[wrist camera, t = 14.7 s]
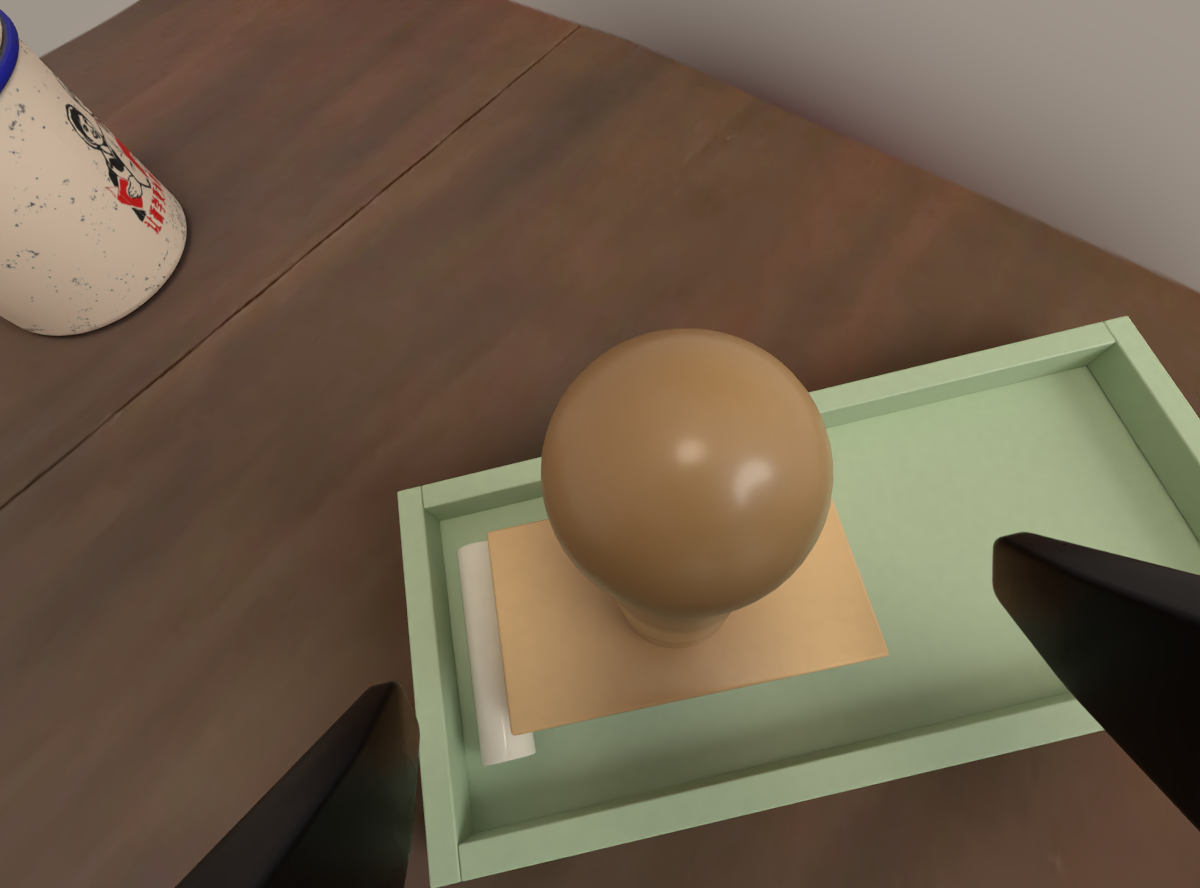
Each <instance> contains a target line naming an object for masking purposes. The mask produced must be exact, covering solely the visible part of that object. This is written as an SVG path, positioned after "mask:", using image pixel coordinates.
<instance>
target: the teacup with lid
mask: <svg viewBox="0 0 1200 888" xmlns="http://www.w3.org/2000/svg"><path fill="white" fill-rule="evenodd" d="M186 234H187V226H186V219H185V215H184V212H183V210H182V208H181V206H180V204H179V203H178V201H177V200H176V198H175V197H174V196H173V195H172V194H171V193H170V192H169V191H168V190H167V189H166V188H165V187H164V186H163V185H162V184H161V183H160V182H159V181H158V180H157V179H156V178H155V177H154V176H153V175H152V174H151V173H150V172H149V171H148V170H147V169H146V167H145V166H144V165H143V164H142V163H141V162H140V161H139V160H138V159H137V158H136V157H135V156H134V155H133V154H132V153H131V152H130V151H129V150H128V149H127V148H126V147H125V146H124V145H123V144H122V143H121V142H120V141H119V140H118V139H117V138H116V137H115V136H114V135H113V134H112V133H111V132H110V131H109V130H108V129H107V128H106V127H105V126H104V125H103V124H102V123H101V121H100V120H99V119H98V118H97V117H96V116H95V115H94V114H93V113H92V112H91V111H90V110H89V109H88V108H87V107H86V106H85V105H84V104H83V103H82V102H81V101H80V100H79V99H78V98H77V97H76V96H75V95H74V94H73V93H72V92H71V91H70V90H69V89H68V88H67V87H66V86H65V85H64V84H63V83H62V82H61V81H60V80H59V79H58V78H57V76H56V75H55V74H54V73H53V72H52V71H51V70H50V69H49V68H48V67H47V66H46V65H45V64H44V63H43V62H42V61H41V60H40V59H39V58H38V57H37V56H36V55H35V54H34V53H33V52H32V51H31V50H30V49H29V48H28V47H27V46H26V45H25V44H24V43H23V42H22V41H21V40H20V39H19V38H18V33H17V30H16V28H15V26H14V24H13V22H12V21H11V19H10V18H9V17H8V16H7V15H6V14H5V13H4V12H3V11H2V10H0V316H1V317H3V318H5V319H7V320H8V321H10V322H12V323H13V324H15V325H17V326H19V327H21V328H23V329H25V330H28V331H30V332H33V333H38V334H43V335H50V336H64V335H74V334H81V333H85V332H89V331H92V330H96V329H99V328H101V327H104V326H106V325H109V324H111V323H113V322H115V321H117V320H119V319H121V318H123V317H124V316H126V315H128V314H129V313H131V312H133V311H134V310H136V309H137V308H138V307H140V306H141V305H142V304H144V303H145V302H146V301H147V300H148V299H150V298H151V297H152V296H153V295H154V294H155V293H156V292H157V291H158V290H159V289H160V288H161V287H162V285H163V284H164V283H165V282H166V281H167V279H168V278H169V277H170V275H171V274H172V272H173V271H174V269H175V267H176V266H177V264H178V262H179V260H180V258H181V255H182V253H183V250H184V247H185V242H186Z"/></svg>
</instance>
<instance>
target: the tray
mask: <svg viewBox="0 0 1200 888" xmlns="http://www.w3.org/2000/svg"><path fill="white" fill-rule="evenodd" d="M808 393H809V394H810V396H811V397H812V399H813V401H814V402H815V404H816V406H817V408H818V410H819V412H820V414H821V416H822V418H823V421H824V424H825V427H826V430H827V434H828V437H829V441H830V444H831V451H832V457H833V475H834V481H833V489H832V496H831V497H832V499H833V502H834V505H835V508H836V510H837V513H838V516H839V518H840V521H841V524H842V527H843V529H844V532H845V535H846V537H847V540H848V543H849V545H850V548H851V551H852V554H853V556H854V559H855V562H856V564H857V567H858V570H859V573H860V575H861V578H862V581H863V583H864V586H865V589H866V591H867V594H868V597H869V600H870V602H871V605H872V608H873V610H874V613H875V616H876V619H877V621H878V624H879V627H880V629H881V632H882V635H883V637H884V640H885V643H886V646H887V648H888V651H889V655H888V656H887V657H883V658H878V659H874V660H869V661H864V662H860V663H855V664H850V665H845V666H841V667H836V668H831V669H827V670H822V671H817V672H813V673H808V674H803V675H798V676H794V677H789V678H784V679H780V680H775V681H770V682H765V683H761V684H756V685H751V686H747V687H742V688H737V689H732V690H728V691H723V692H718V693H714V694H709V695H704V696H700V697H695V698H690V699H685V700H681V701H676V702H671V703H667V704H662V705H657V706H652V707H648V708H643V709H638V710H634V711H629V712H624V713H619V714H615V715H610V716H605V717H601V718H596V719H591V720H587V721H582V722H577V723H572V724H568V725H563V726H558V727H554V728H549V729H544V730H539V731H535V732H534V738H535V744H536V753H535V754H533V755H530V756H526V757H523V758H519V759H515V760H511V761H507V762H503V763H498V764H494V765H489V766H482V765H481V757H480V748H479V740H478V731H477V723H476V715H475V706H474V698H473V689H472V681H471V673H470V664H469V656H468V647H467V639H466V630H465V622H464V614H463V605H462V597H461V588H460V580H459V571H458V563H457V555H456V552H457V550H458V549H459V548H461V547H463V546H465V545H468V544H471V543H475V542H480V541H488V539H487V534H488V532H490V531H495V530H499V529H504V528H509V527H513V526H518V525H522V524H527V523H532V522H536V521H541V520H545V519H549V518H548V516H547V513H546V509H545V505H544V500H543V496H542V486H541V458H542V457H539V458H535V459H531V460H526V461H522V462H518V463H514V464H510V465H506V466H502V467H497V468H493V469H489V470H485V471H481V472H477V473H473V474H468V475H464V476H460V477H456V478H452V479H448V480H444V481H439V482H435V483H431V484H427V485H423V486H422V487H421V486H419V487H415V488H411V489H406V490H402V491H398V492H397V496H398V508H399V520H400V532H401V544H402V556H403V568H404V580H405V591H406V603H407V615H408V627H409V639H410V651H411V663H412V675H413V687H414V699H415V711H416V718H417V720H418V724H419V729H420V745H419V759H420V771H421V783H422V795H423V807H424V819H425V831H426V843H427V855H428V867H429V879H430V887H431V888H437V887H441V886H446V885H450V884H454V883H458V882H460V881H461V880H462V881H467V880H471V879H476V878H480V877H484V876H488V875H493V874H497V873H501V872H505V871H510V870H514V869H518V868H522V867H527V866H531V865H535V864H539V863H543V862H548V861H552V860H556V859H560V858H565V857H569V856H573V855H577V854H582V853H586V852H590V851H594V850H599V849H603V848H607V847H611V846H615V845H620V844H624V843H628V842H632V841H637V840H641V839H645V838H649V837H654V836H658V835H662V834H666V833H671V832H675V831H679V830H683V829H688V828H692V827H696V826H700V825H704V824H709V823H713V822H717V821H721V820H726V819H730V818H734V817H738V816H743V815H747V814H751V813H755V812H760V811H764V810H768V809H772V808H776V807H781V806H785V805H789V804H793V803H798V802H802V801H806V800H810V799H815V798H819V797H823V796H827V795H832V794H836V793H840V792H844V791H849V790H853V789H857V788H861V787H865V786H870V785H874V784H878V783H882V782H887V781H891V780H895V779H899V778H904V777H908V776H912V775H916V774H921V773H925V772H929V771H933V770H937V769H942V768H946V767H950V766H954V765H959V764H963V763H967V762H971V761H976V760H980V759H984V758H988V757H993V756H997V755H1001V754H1005V753H1010V752H1014V751H1018V750H1022V749H1026V748H1031V747H1035V746H1039V745H1043V744H1048V743H1052V742H1056V741H1060V740H1065V739H1069V738H1073V737H1077V736H1082V735H1086V734H1090V733H1094V732H1098V731H1103V730H1104V729H1103V728H1102V726H1101V725H1100V724H1099V723H1098V722H1097V721H1096V720H1095V719H1094V718H1093V717H1092V716H1091V715H1090V714H1089V713H1088V711H1087V710H1086V709H1085V708H1084V707H1083V706H1082V705H1081V704H1080V703H1079V702H1078V701H1077V699H1076V698H1075V697H1074V696H1073V695H1072V694H1071V693H1070V692H1069V690H1068V689H1067V688H1066V687H1065V686H1064V684H1063V683H1062V682H1061V681H1060V680H1059V678H1058V677H1057V676H1056V675H1055V673H1054V672H1053V671H1052V670H1051V668H1050V667H1049V666H1048V664H1047V663H1046V662H1045V660H1044V659H1043V658H1042V657H1041V655H1040V654H1039V653H1038V651H1037V650H1036V649H1035V648H1034V646H1033V645H1032V644H1031V642H1030V641H1029V640H1028V638H1027V637H1026V636H1025V635H1024V633H1023V632H1022V631H1021V629H1020V628H1019V627H1018V626H1017V624H1016V623H1015V622H1014V620H1013V619H1012V618H1011V616H1010V615H1009V614H1008V613H1007V611H1006V610H1005V609H1004V607H1003V606H1002V605H1001V603H1000V602H999V601H998V599H997V597H996V595H995V593H994V590H993V586H992V556H993V544H994V541H995V540H996V539H997V538H999V537H1001V536H1006V535H1010V534H1014V533H1018V532H1030V533H1034V534H1038V535H1042V536H1046V537H1050V538H1054V539H1058V540H1062V541H1066V542H1070V543H1074V544H1078V545H1082V546H1086V547H1090V548H1094V549H1098V550H1102V551H1106V552H1110V553H1114V554H1118V555H1122V556H1126V557H1130V558H1134V559H1138V560H1142V561H1146V562H1150V563H1154V564H1158V565H1162V566H1165V567H1169V568H1173V569H1177V570H1181V571H1185V572H1189V573H1193V574H1197V575H1200V419H1199V418H1198V416H1197V415H1196V413H1195V412H1194V410H1193V409H1192V408H1191V406H1190V405H1189V403H1188V402H1187V400H1186V399H1185V397H1184V396H1183V395H1182V393H1181V392H1180V390H1179V389H1178V387H1177V386H1176V385H1175V383H1174V382H1173V380H1172V379H1171V377H1170V376H1169V375H1168V373H1167V372H1166V370H1165V369H1164V367H1163V366H1162V365H1161V363H1160V362H1159V360H1158V359H1157V357H1156V356H1155V354H1154V353H1153V352H1152V350H1151V349H1150V347H1149V346H1148V344H1147V343H1146V342H1145V340H1144V339H1143V337H1142V336H1141V334H1140V333H1139V332H1138V330H1137V329H1136V327H1135V326H1134V324H1133V323H1132V322H1131V320H1130V319H1129V317H1128V316H1124V317H1119V318H1115V319H1111V320H1107V321H1103V322H1099V323H1095V324H1090V325H1086V326H1082V327H1078V328H1074V329H1070V330H1066V331H1061V332H1057V333H1053V334H1049V335H1045V336H1041V337H1036V338H1032V339H1028V340H1024V341H1020V342H1016V343H1012V344H1007V345H1003V346H999V347H995V348H991V349H987V350H983V351H978V352H974V353H970V354H966V355H962V356H958V357H954V358H949V359H945V360H941V361H937V362H933V363H929V364H925V365H920V366H916V367H912V368H908V369H904V370H900V371H895V372H891V373H887V374H883V375H879V376H875V377H871V378H866V379H862V380H858V381H854V382H850V383H846V384H842V385H837V386H833V387H829V388H825V389H821V390H817V391H813V392H808Z"/></svg>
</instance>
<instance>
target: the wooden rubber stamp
mask: <svg viewBox="0 0 1200 888" xmlns="http://www.w3.org/2000/svg"><path fill="white" fill-rule="evenodd" d="M833 481H834V475H833V457H832V451H831V444H830V441H829V437H828V434H827V430H826V427H825V424H824V421H823V418H822V416H821V414H820V412H819V410H818V408H817V406H816V404H815V402H814V401H813V399H812V397H811V396H810V394H809V393H808V391H807V390H806V389H805V387H804V386H803V385H802V384H801V383H800V381H799V380H798V379H797V378H796V377H795V375H794V374H793V373H792V372H791V371H790V370H789V369H788V368H787V367H786V366H785V365H784V364H782V363H781V362H780V361H779V360H778V359H776V358H775V357H774V356H772V355H771V354H769V353H768V352H767V351H765V350H763V349H761V348H760V347H758V346H756V345H754V344H752V343H750V342H748V341H746V340H743V339H741V338H738V337H736V336H732V335H729V334H725V333H722V332H718V331H712V330H706V329H694V328H678V329H666V330H660V331H654V332H650V333H647V334H643V335H640V336H637V337H634V338H632V339H629V340H627V341H624V342H622V343H620V344H618V345H617V346H615V347H613V348H611V349H609V350H608V351H606V352H605V353H603V354H602V355H601V356H599V357H598V358H596V359H595V360H594V361H593V362H592V363H591V364H590V365H589V366H587V367H586V368H585V369H584V370H583V371H582V372H581V373H580V374H579V375H578V376H577V378H576V379H575V380H574V381H573V382H572V383H571V385H570V386H569V387H568V389H567V390H566V392H565V393H564V395H563V396H562V398H561V399H560V401H559V403H558V405H557V407H556V409H555V411H554V413H553V415H552V418H551V420H550V423H549V426H548V429H547V432H546V435H545V439H544V444H543V450H542V458H541V486H542V496H543V500H544V505H545V509H546V513H547V516H548V518H549V519H545V520H541V521H536V522H532V523H527V524H522V525H518V526H513V527H509V528H504V529H499V530H495V531H490V532H488V534H487V539H488V547H489V555H490V563H491V572H492V580H493V588H494V597H495V605H496V613H497V621H498V630H499V638H500V646H501V655H502V663H503V671H504V679H505V688H506V696H507V704H508V713H509V721H510V729H511V733H512V735H514V736H516V735H521V734H525V733H530V732H535V731H539V730H544V729H549V728H554V727H558V726H563V725H568V724H572V723H577V722H582V721H587V720H591V719H596V718H601V717H605V716H610V715H615V714H619V713H624V712H629V711H634V710H638V709H643V708H648V707H652V706H657V705H662V704H667V703H671V702H676V701H681V700H685V699H690V698H695V697H700V696H704V695H709V694H714V693H718V692H723V691H728V690H732V689H737V688H742V687H747V686H751V685H756V684H761V683H765V682H770V681H775V680H780V679H784V678H789V677H794V676H798V675H803V674H808V673H813V672H817V671H822V670H827V669H831V668H836V667H841V666H845V665H850V664H855V663H860V662H864V661H869V660H874V659H878V658H883V657H887V656H888V655H889V651H888V648H887V646H886V643H885V640H884V637H883V635H882V632H881V629H880V627H879V624H878V621H877V619H876V616H875V613H874V610H873V608H872V605H871V602H870V600H869V597H868V594H867V591H866V589H865V586H864V583H863V581H862V578H861V575H860V573H859V570H858V567H857V564H856V562H855V559H854V556H853V554H852V551H851V548H850V545H849V543H848V540H847V537H846V535H845V532H844V529H843V527H842V524H841V521H840V518H839V516H838V513H837V510H836V508H835V505H834V502H833V499H832V497H831V496H832V489H833Z"/></svg>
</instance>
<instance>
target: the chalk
mask: <svg viewBox="0 0 1200 888" xmlns="http://www.w3.org/2000/svg"><path fill="white" fill-rule="evenodd" d="M456 555H457V563H458V571H459V580H460V588H461V597H462V605H463V614H464V622H465V630H466V639H467V647H468V656H469V664H470V673H471V681H472V689H473V698H474V706H475V715H476V723H477V731H478V740H479V748H480V757H481V765H482V766H489V765H494V764H498V763H503V762H507V761H511V760H515V759H519V758H523V757H526V756H530V755H533V754H535V753H536V744H535V738H534V732H530V733H525V734H521V735H516V736H514V735H512V733H511V729H510V721H509V713H508V704H507V696H506V688H505V679H504V671H503V663H502V655H501V646H500V638H499V630H498V621H497V613H496V605H495V597H494V588H493V580H492V572H491V563H490V555H489V547H488V541H480V542H475V543H471V544H468V545H465V546H463V547H461V548H459V549H458V550H457V552H456Z"/></svg>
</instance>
